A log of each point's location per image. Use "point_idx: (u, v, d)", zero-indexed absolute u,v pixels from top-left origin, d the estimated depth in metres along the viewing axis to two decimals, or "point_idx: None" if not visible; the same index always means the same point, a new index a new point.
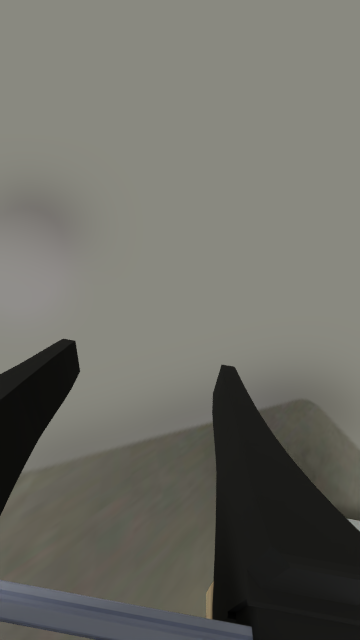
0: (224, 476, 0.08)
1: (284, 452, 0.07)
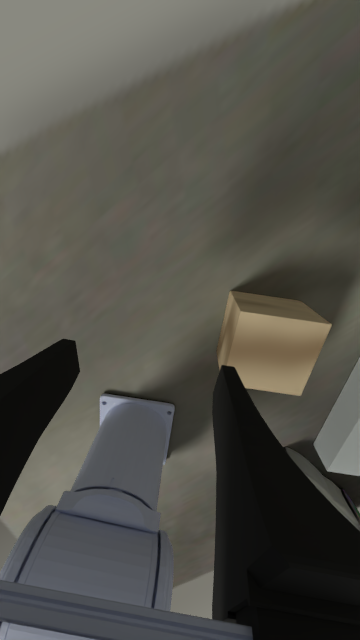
0: (224, 476, 0.08)
1: (284, 452, 0.07)
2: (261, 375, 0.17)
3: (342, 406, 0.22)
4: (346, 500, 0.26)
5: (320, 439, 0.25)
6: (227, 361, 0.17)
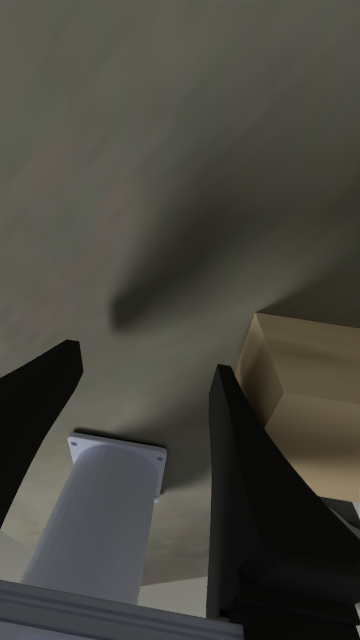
0: (219, 475, 0.08)
1: (277, 451, 0.07)
2: (306, 478, 0.10)
3: None
4: None
5: None
6: None
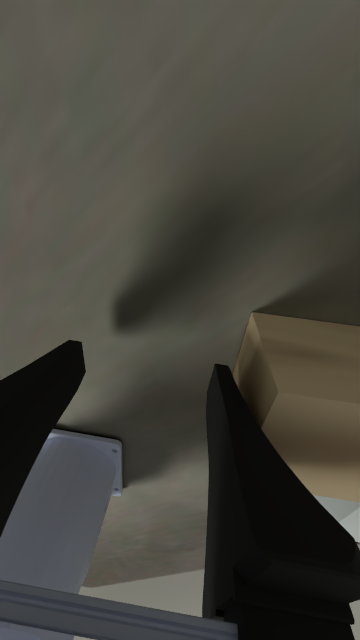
0: (215, 475, 0.08)
1: (273, 450, 0.07)
2: (306, 478, 0.09)
3: None
4: None
5: None
6: None
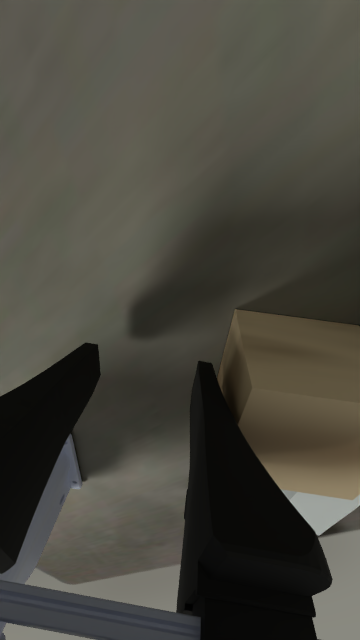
0: (193, 471, 0.08)
1: (247, 446, 0.07)
2: (286, 474, 0.09)
3: None
4: None
5: None
6: None
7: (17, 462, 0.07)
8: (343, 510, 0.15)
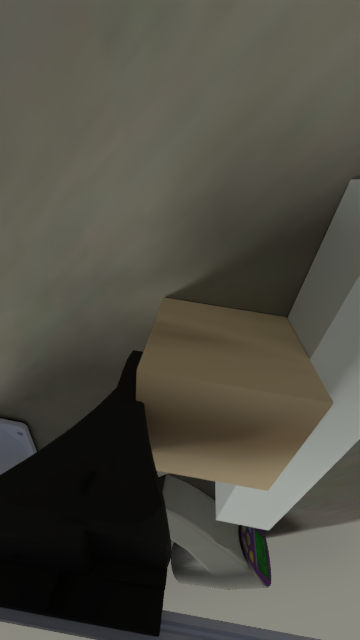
0: None
1: (142, 428, 0.07)
2: (197, 462, 0.09)
3: None
4: (239, 537, 0.21)
5: None
6: None
7: None
8: (284, 504, 0.15)
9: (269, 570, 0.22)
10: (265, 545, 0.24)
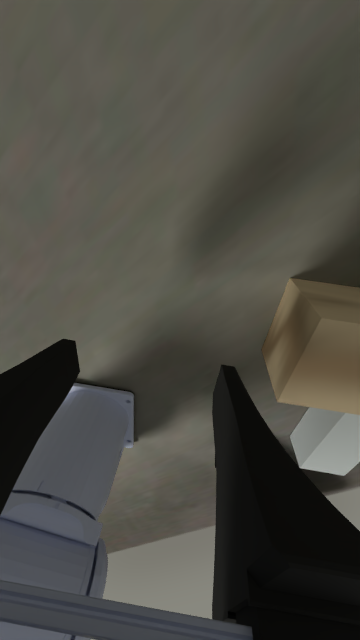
0: (224, 476, 0.08)
1: (284, 452, 0.07)
2: (331, 394, 0.13)
3: None
4: None
5: (297, 433, 0.22)
6: (288, 377, 0.13)
7: None
8: None
9: None
10: None
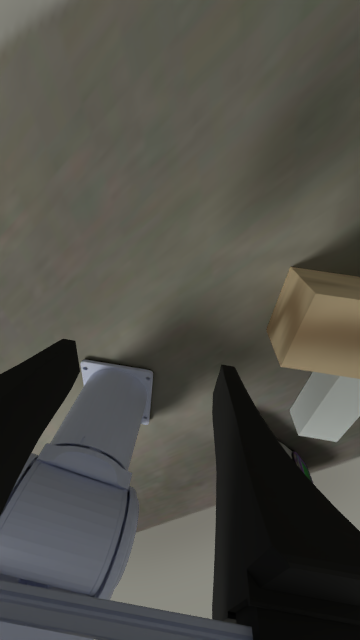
0: (224, 476, 0.08)
1: (284, 452, 0.07)
2: (324, 359, 0.16)
3: (318, 376, 0.22)
4: None
5: (296, 406, 0.25)
6: (290, 344, 0.16)
7: None
8: (355, 413, 0.21)
9: None
10: (308, 473, 0.31)
